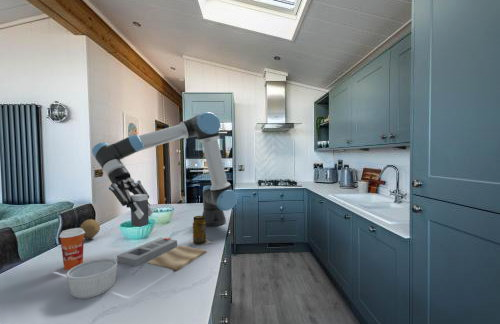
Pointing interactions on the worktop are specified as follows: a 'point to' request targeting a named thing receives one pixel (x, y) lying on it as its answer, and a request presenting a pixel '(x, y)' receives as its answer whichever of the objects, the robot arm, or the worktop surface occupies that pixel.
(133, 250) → the grey slotted holder
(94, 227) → the natural sponge
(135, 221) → the charger
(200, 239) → the condiment
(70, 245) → the paper cup
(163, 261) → the tan cloth
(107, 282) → the ramekin
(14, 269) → the worktop surface
